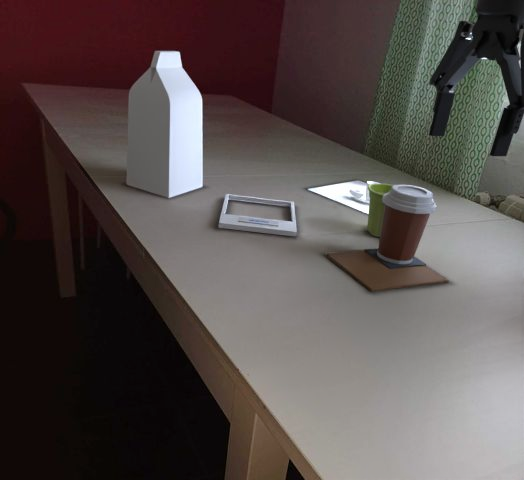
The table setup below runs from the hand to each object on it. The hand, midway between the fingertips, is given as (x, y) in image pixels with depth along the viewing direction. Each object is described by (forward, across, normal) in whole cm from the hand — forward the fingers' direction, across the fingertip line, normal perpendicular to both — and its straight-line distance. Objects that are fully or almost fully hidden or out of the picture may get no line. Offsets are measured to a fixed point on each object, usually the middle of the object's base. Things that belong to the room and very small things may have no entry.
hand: (465, 145), depth 85 cm
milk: (+20, -50, -34) cm, 63 cm away
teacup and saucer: (+20, -38, +12) cm, 45 cm away
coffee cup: (+20, -4, -5) cm, 21 cm away
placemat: (+21, -1, -9) cm, 23 cm away
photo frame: (+20, -28, -21) cm, 41 cm away
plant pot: (+21, -16, +1) cm, 26 cm away
